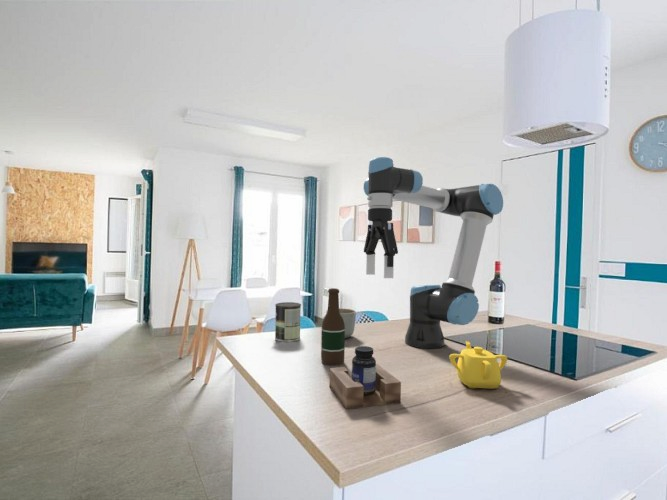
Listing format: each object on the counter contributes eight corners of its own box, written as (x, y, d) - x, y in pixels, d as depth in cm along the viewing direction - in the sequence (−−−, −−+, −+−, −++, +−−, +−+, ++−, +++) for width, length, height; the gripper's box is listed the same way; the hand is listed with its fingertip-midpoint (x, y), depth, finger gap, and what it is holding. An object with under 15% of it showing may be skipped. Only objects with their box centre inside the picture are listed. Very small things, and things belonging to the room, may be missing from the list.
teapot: (441, 381, 104) (442, 345, 104) (465, 371, 112) (466, 338, 112) (488, 397, 93) (489, 357, 93) (511, 385, 102) (512, 348, 101)
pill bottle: (347, 388, 95) (348, 346, 95) (368, 385, 98) (368, 344, 98) (358, 397, 90) (359, 352, 90) (380, 393, 92) (380, 350, 92)
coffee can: (271, 341, 144) (272, 305, 144) (279, 335, 154) (279, 301, 154) (297, 342, 143) (297, 306, 143) (302, 336, 153) (303, 302, 153)
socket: (377, 381, 103) (377, 364, 103) (400, 402, 89) (400, 382, 89) (329, 386, 98) (329, 368, 98) (346, 409, 85) (346, 387, 85)
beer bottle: (342, 366, 115) (343, 290, 115) (318, 364, 117) (319, 289, 116) (346, 359, 123) (347, 287, 122) (323, 357, 124) (324, 287, 124)
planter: (324, 333, 159) (325, 308, 158) (352, 333, 160) (353, 308, 160) (327, 340, 146) (327, 313, 146) (357, 340, 148) (358, 313, 148)
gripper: (354, 211, 125) (353, 273, 125) (386, 203, 101) (385, 280, 101) (375, 212, 127) (374, 273, 127) (410, 204, 103) (409, 279, 103)
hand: (379, 276), depth 114 cm, fingers open, 13 cm apart
